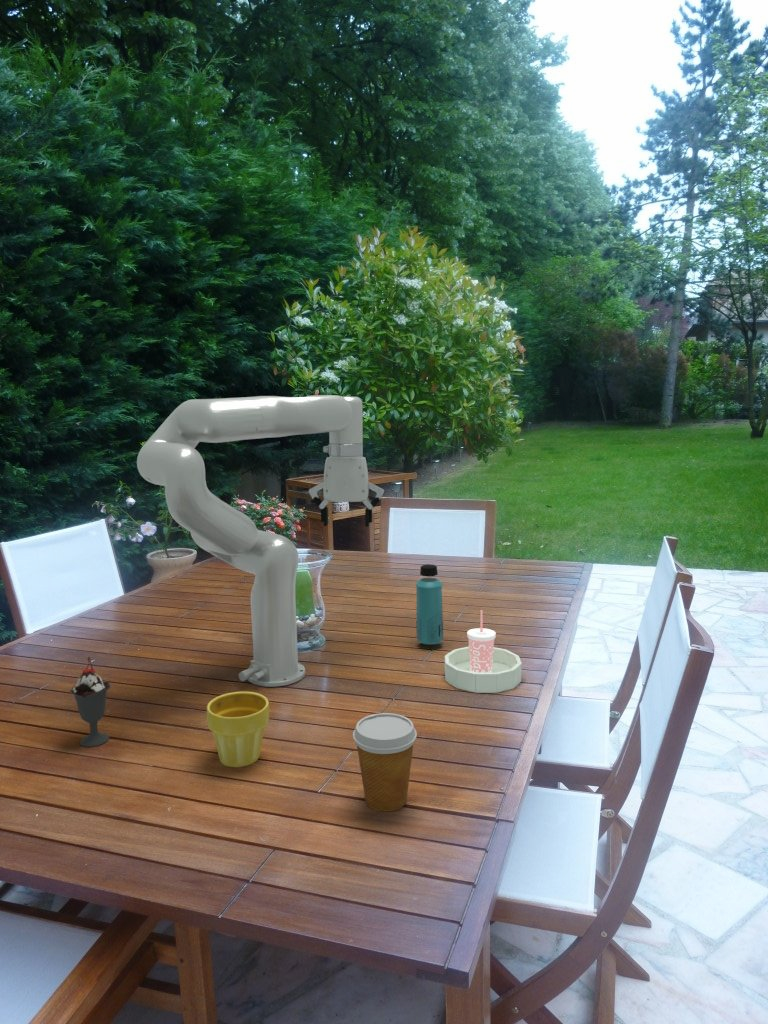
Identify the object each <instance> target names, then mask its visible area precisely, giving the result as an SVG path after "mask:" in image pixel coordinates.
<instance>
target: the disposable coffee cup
mask: <svg viewBox="0 0 768 1024" xmlns="http://www.w3.org/2000/svg"><path fill="white" fill-rule="evenodd" d="M417 735H418V732H417V730H416V728H415V725H414V723H413V721H412V720H411V719H410V718H408V717H406V716H404V715H401V714H398V713H392V712H389V713H388V712H382V713H381V712H380V713H373V714H370V715H367V716H364V717H362V718H361V719H359V720H358V721H357V723H356V725H355V728H354V730H353V732H352V737H353V740H354V743H355V745H356V750H357V755H358V762H359V767H360V774H361V781H362V786H363V792H364V793H363V794H364V800H365V804H366V805H367V807H369V808H371V809H372V810H375V811H378V812H393V811H397V810H400V809H402V808H403V807H404V806H405V805H406V803H407V801H408V792H409V782H410V775H411V768H412V767H411V766H412V758H413V750H414V744H415V741H416V740H417Z"/></svg>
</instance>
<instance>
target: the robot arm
mask: <svg viewBox="0 0 768 1024" xmlns="http://www.w3.org/2000/svg"><path fill="white" fill-rule="evenodd" d="M363 422H364V421H363V401H362V399H361V398H360V397H358V396H341V395H337V394H335V395H334V394H333V395H332V394H329V395H328V394H318V395H316V394H315V395H314V394H313V395H307V396H303V397H297V396H295V397H293V396H278V395H257V396H246V397H226V398H224V397H223V398H205V399H204V398H201V399H200V398H198V399H197V398H196V399H195V398H194V399H193V398H192V399H188V400H186V401H183V402H182V403H181V404H179V405H178V406H177V407H176V408H175V409H174V410H173V411H172V412H171V413H170V414H169V416H167V418H166V419H165V420H164V422H162V424H161V425H160V426H159V427H158V428H157V430H155V432H153V434H152V435H151V436H150V437H149V438H148V439H147V440H146V442H145V443H144V444H143V446H142V447H141V448H140V450H139V452H138V455H137V457H136V458H137V459H136V467H137V470H138V472H139V474H140V476H141V477H142V478H143V479H144V481H147V482H148V483H151V484H153V485H155V486H156V485H158V486H161V487H162V486H163V487H164V495H165V496H164V497H165V502H166V505H167V510H168V512H169V514H170V515H171V517H172V519H173V520H174V521H175V522H176V523H177V524H178V525H179V526H181V527H183V528H184V529H185V530H187V531H189V533H190V536H191V538H192V540H193V541H194V543H195V544H196V545H197V546H198V547H199V548H200V549H202V550H203V551H205V552H207V553H210V555H212V556H214V557H216V558H218V559H220V560H222V561H223V562H225V563H227V564H228V565H230V566H232V567H233V568H236V569H238V570H241V571H244V572H247V573H250V574H252V575H254V577H255V578H254V580H253V581H254V582H253V585H252V587H251V592H250V612H251V613H250V614H251V633H252V636H251V637H252V652H253V653H252V654H253V659H252V660H250V665H249V667H248V668H247V669H244V670H242V671H240V672H239V673H238V679H239V680H240V681H241V682H244V681H248V682H250V683H251V684H253V685H255V686H260V687H266V688H267V687H268V688H271V687H272V688H273V687H274V688H275V687H277V688H278V687H283V686H288V685H291V684H294V683H297V682H299V681H300V680H303V678H304V677H305V676H306V668H305V666H304V665H303V664H302V663H299V658H298V655H299V653H298V631H297V630H298V629H297V628H298V627H297V606H296V582H297V581H296V579H297V572H298V567H299V552H298V549H297V546H296V545H295V544H294V543H293V541H291V540H290V539H289V538H288V537H286V536H284V535H282V534H277V533H275V532H271V531H264V530H260V529H257V526H256V524H255V522H254V521H253V520H252V518H250V517H249V516H248V515H246V514H245V513H244V512H241V511H240V510H238V509H236V508H235V507H233V506H231V505H230V504H228V503H227V502H225V501H224V500H221V498H219V497H218V496H217V495H215V494H213V493H212V492H211V491H210V490H209V488H208V486H207V481H206V467H205V462H204V459H203V457H202V455H201V454H200V452H199V451H198V450H197V449H195V448H196V447H197V446H198V444H199V443H202V442H203V443H210V444H211V443H215V444H216V443H217V444H218V443H226V442H227V443H228V442H229V443H230V442H236V441H244V440H245V441H246V440H256V439H266V438H282V437H288V436H297V435H311V434H322V433H329V436H328V437H329V439H328V440H329V443H328V445H325V446H323V447H322V451H323V453H328V455H329V457H328V456H327V457H326V459H325V463H324V471H323V481H322V482H321V483H319V484H317V485H315V486H313V487H311V488H309V489H308V493H309V496H310V497H311V498H312V501H313V502H314V503H315V505H317V506H318V507H319V509H320V522H321V523H323V527H327V526H329V507H328V504H329V503H330V502H331V503H332V502H333V503H334V502H336V503H338V502H339V503H340V502H341V503H342V502H344V503H349V502H350V503H355V502H356V503H357V502H359V503H361V502H362V503H363V504H364V506H365V509H364V510H365V512H364V513H365V517H364V518H365V519H364V521H365V522H364V524H365V528H366V527H367V528H369V527H370V523H372V522H373V508H374V507H376V505H377V504H378V503H379V502H380V501H381V499H382V497H383V495H384V493H385V489H384V488H381V487H379V486H378V485H376V484H373V483H372V482H370V481H369V471H368V465H367V460H366V457H364V456H363V454H364V453H363V451H364V450H363V448H364V447H363V440H364V439H363V438H364V436H363V432H364V431H363ZM322 489H323V492H322V493H323V500H322V499H321V498H320V497H319V495H318V492H319V491H321V490H322ZM370 490H371V491H373V492H375V493H376V495H375V497H374V498H373V499H372V500H371V499H370V498H369V492H370Z"/></svg>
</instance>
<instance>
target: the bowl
mask: <svg viewBox="0 0 768 1024" xmlns="http://www.w3.org/2000/svg"><path fill="white" fill-rule="evenodd" d="M522 664H523V663H522V660H521V658H520V656H519V655H518V654H515V653H514V652H512V651H510V650H508V649H505V648H499V647H495V646H494V649H493V663H492V673H476V672H471V671H470V656H469V646H465V647H460V648H455V649H453V650H451V651H450V652H448V653H447V654H445V655H444V678H445V679H444V680H445V682H446V683H448V684H449V685H451V686H452V687H454V688H455V689H458V690H461V691H462V690H463V691H466V692H470V693H476V694H477V693H478V694H480V693H481V694H482V693H483V694H491V693H493V694H497V693H501V692H506V691H509V690H514V689H515V688H516V687H517V686H518V685H519V684H520V683H521V682H522Z"/></svg>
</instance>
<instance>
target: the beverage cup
mask: <svg viewBox="0 0 768 1024" xmlns="http://www.w3.org/2000/svg"><path fill="white" fill-rule="evenodd" d="M483 611H484V610H483V609H480V617H479V618H480V619H479V620H480V627H478V628H471V629H468V630H467V633H466V636H467V638H468V647H469V656H470V671H471V672H476V673H492V663H493V649H494V647H495V646H494V645H495V639H496V638H497V637H496V635H497V632H496V631H495V630H492V629H490V628H486V627H484V626H483V625H484V624H483V623H484V620H483V617H484V616H483V614H484V613H483ZM483 627H484V628H483Z"/></svg>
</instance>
